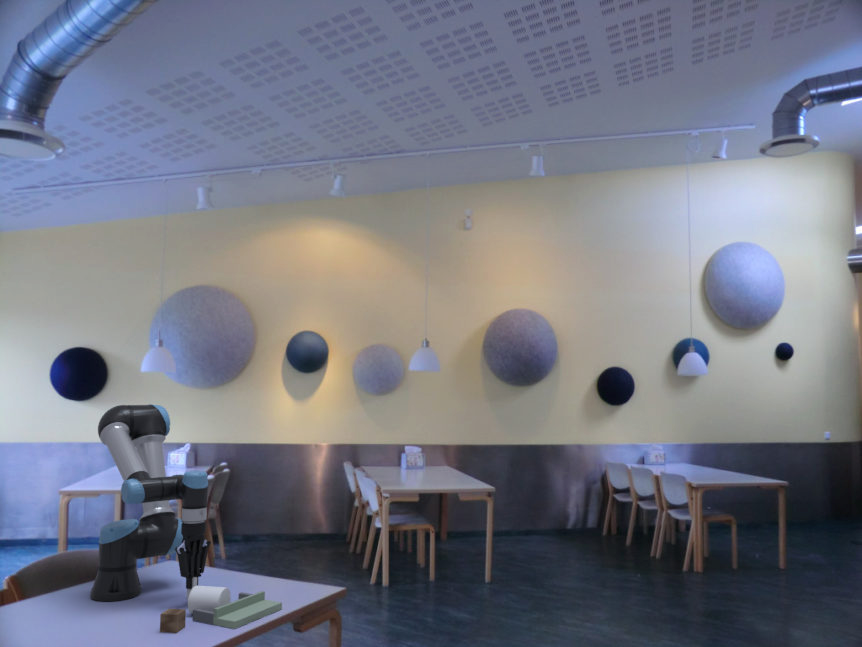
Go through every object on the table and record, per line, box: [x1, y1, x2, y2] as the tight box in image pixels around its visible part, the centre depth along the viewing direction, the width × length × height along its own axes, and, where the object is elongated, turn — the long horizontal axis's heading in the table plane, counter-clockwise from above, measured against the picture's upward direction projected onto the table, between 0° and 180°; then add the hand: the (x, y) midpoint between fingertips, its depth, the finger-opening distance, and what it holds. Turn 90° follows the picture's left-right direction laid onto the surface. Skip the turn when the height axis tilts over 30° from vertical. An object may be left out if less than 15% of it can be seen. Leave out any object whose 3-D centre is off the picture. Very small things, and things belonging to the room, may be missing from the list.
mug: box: [187, 585, 232, 615], centre depth 220 cm, size 12×10×8 cm
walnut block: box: [159, 608, 187, 634], centre depth 203 cm, size 5×5×5 cm
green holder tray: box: [192, 590, 283, 630], centre depth 217 cm, size 16×21×4 cm
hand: (191, 598), depth 225 cm, fingers closed
